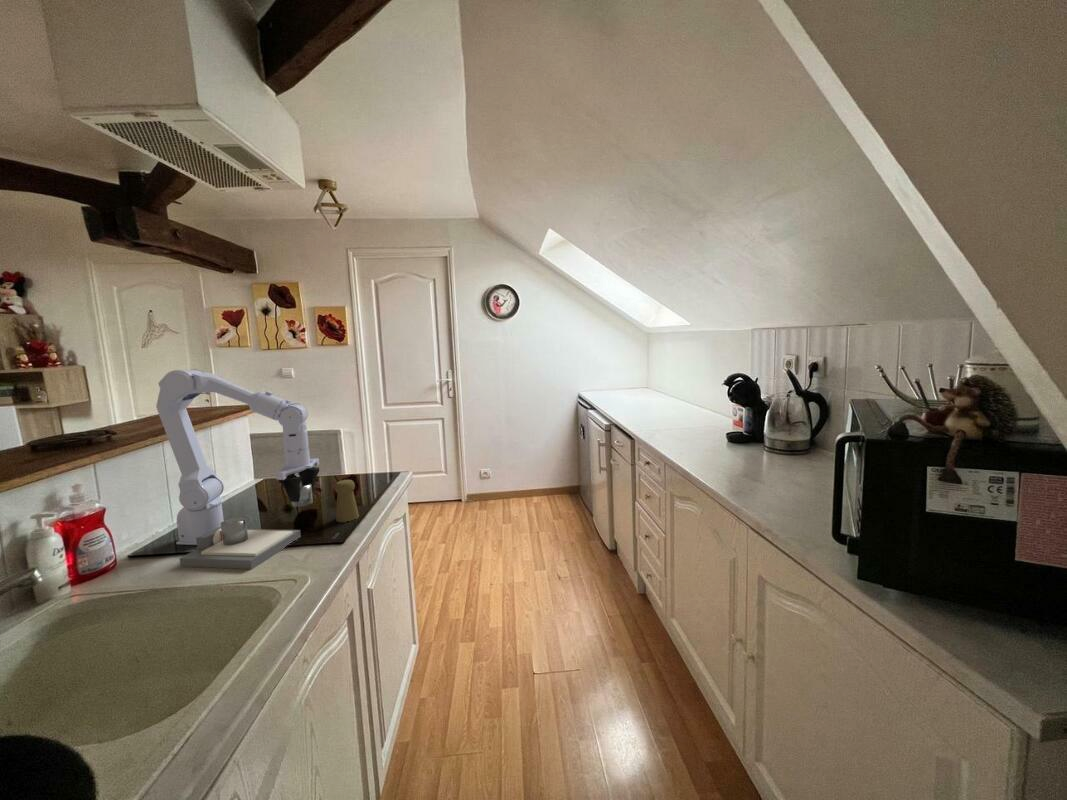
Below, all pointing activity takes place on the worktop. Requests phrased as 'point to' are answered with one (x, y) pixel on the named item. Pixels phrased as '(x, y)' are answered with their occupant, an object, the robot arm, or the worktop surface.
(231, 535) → the cylinder
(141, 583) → the worktop surface
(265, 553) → the kitchen scale
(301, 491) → the cylinder
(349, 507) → the cork
